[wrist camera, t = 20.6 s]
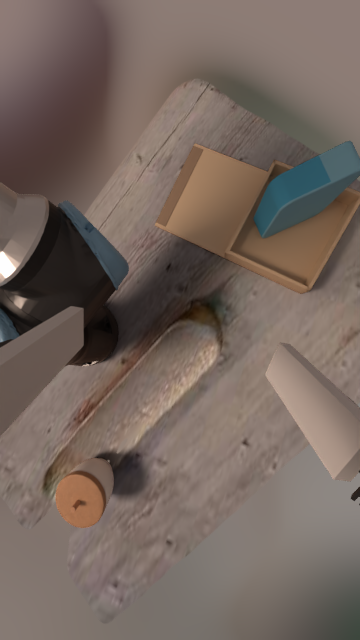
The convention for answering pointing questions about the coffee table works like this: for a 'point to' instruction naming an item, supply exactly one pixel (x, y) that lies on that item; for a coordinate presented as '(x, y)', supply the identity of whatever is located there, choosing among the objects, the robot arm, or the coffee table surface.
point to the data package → (306, 189)
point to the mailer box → (250, 219)
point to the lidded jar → (85, 492)
